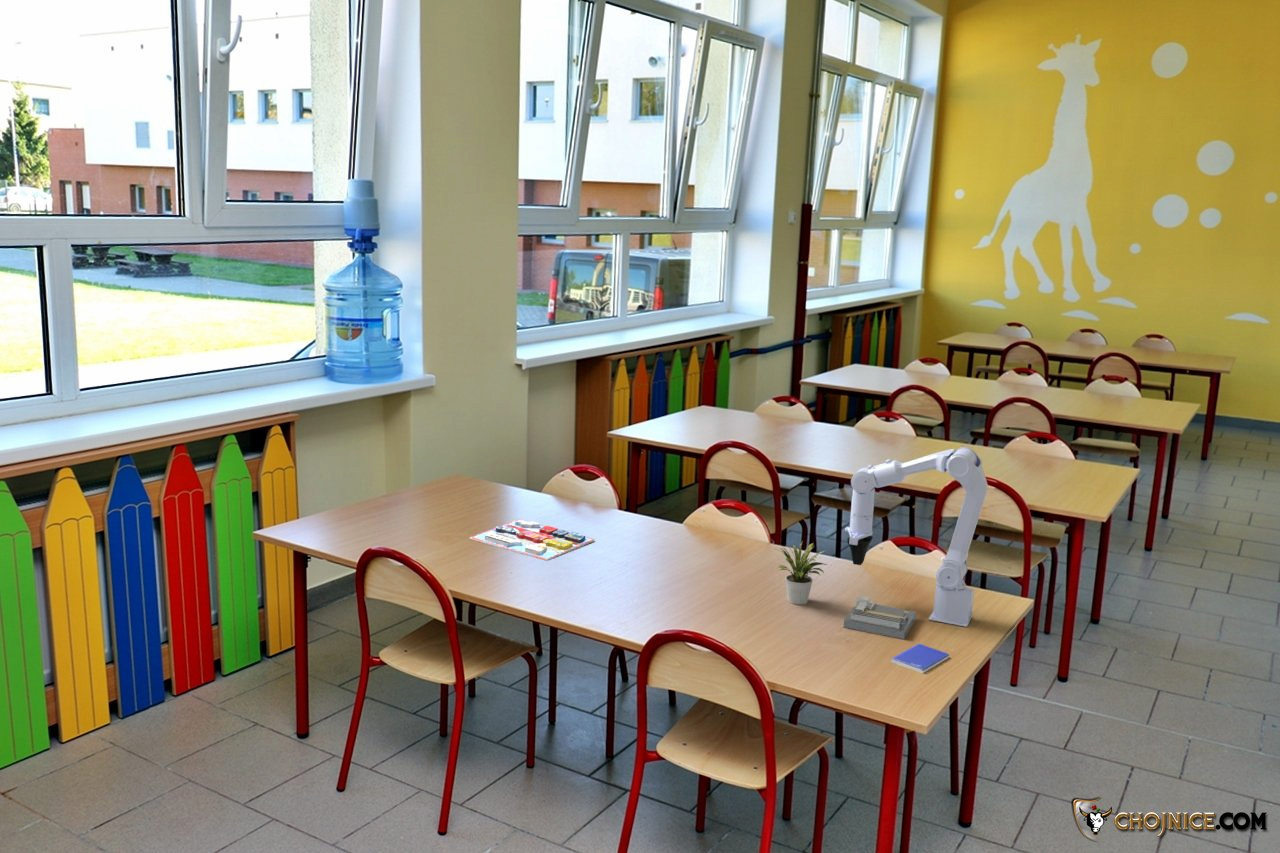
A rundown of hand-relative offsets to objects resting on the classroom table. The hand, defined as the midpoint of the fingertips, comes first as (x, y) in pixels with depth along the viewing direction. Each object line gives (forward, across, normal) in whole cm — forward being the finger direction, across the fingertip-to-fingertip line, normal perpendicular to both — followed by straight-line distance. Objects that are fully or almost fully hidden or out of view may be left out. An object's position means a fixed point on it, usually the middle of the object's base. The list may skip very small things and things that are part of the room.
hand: (858, 563), depth 288 cm
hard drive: (+11, +29, +23) cm, 39 cm away
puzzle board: (+11, 0, -99) cm, 100 cm away
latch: (+8, +12, +4) cm, 15 cm away
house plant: (+11, +9, -14) cm, 20 cm away
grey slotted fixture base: (+10, +12, +10) cm, 19 cm away
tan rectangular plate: (+8, +13, +9) cm, 18 cm away
